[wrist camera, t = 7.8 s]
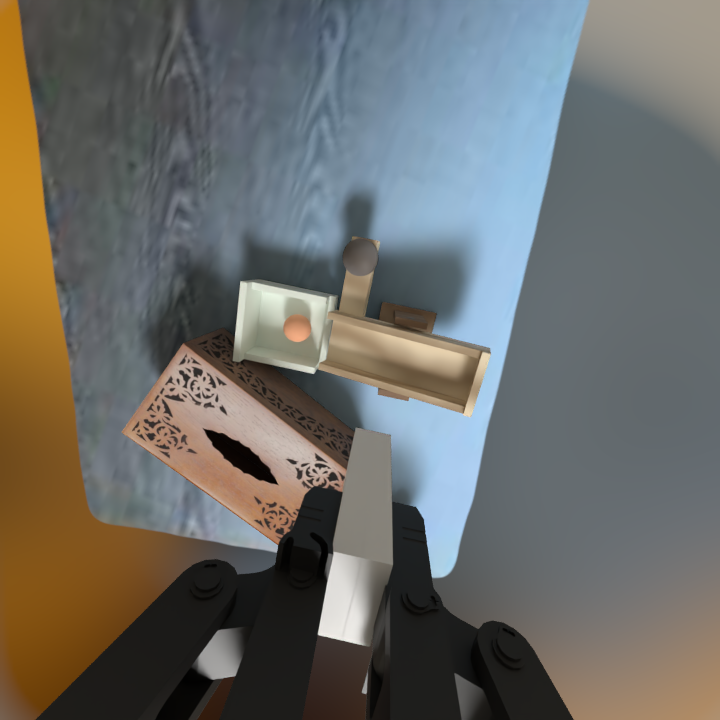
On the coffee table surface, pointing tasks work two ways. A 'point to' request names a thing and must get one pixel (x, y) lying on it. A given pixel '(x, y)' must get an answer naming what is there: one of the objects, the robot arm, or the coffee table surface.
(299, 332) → the ball
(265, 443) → the tissue box cover
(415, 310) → the fulcrum
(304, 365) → the bin
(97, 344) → the coffee table surface
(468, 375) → the lever
